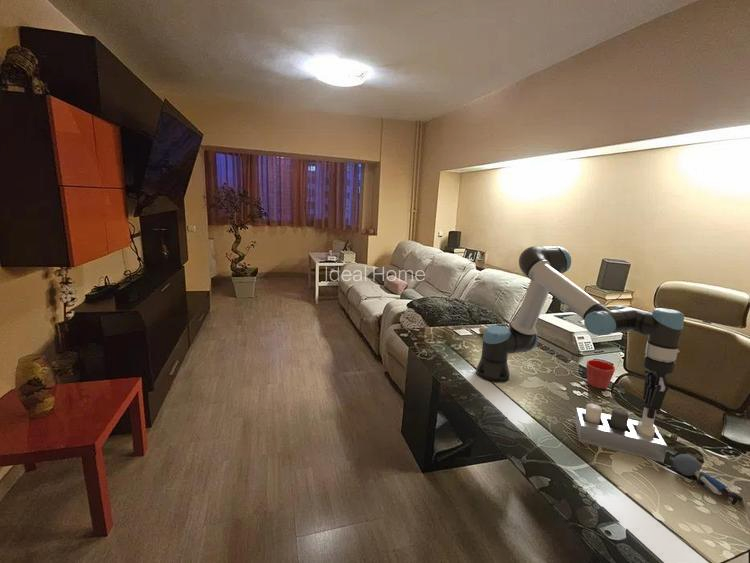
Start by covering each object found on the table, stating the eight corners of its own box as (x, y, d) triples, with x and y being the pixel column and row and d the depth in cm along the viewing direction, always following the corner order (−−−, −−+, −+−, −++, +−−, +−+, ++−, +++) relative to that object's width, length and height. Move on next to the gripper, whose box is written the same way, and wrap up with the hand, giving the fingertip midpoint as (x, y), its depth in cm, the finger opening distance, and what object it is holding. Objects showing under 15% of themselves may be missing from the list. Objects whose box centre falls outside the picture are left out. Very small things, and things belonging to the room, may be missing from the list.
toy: (736, 508, 92) (674, 464, 105) (749, 491, 91) (685, 448, 104) (726, 510, 89) (663, 464, 102) (739, 491, 88) (674, 448, 101)
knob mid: (610, 430, 113) (613, 414, 112) (607, 423, 117) (610, 407, 116) (627, 434, 111) (630, 418, 110) (623, 426, 115) (626, 411, 114)
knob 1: (585, 424, 116) (587, 408, 115) (583, 417, 120) (585, 402, 119) (600, 428, 114) (603, 412, 113) (598, 421, 118) (600, 405, 117)
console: (578, 441, 114) (581, 425, 113) (574, 422, 125) (576, 407, 124) (663, 462, 105) (667, 445, 104) (650, 440, 116) (654, 424, 115)
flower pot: (616, 391, 148) (620, 371, 147) (589, 388, 151) (592, 368, 149) (605, 380, 159) (608, 361, 157) (580, 377, 161) (583, 358, 159)
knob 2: (636, 443, 110) (639, 427, 109) (632, 435, 115) (635, 419, 113) (654, 447, 109) (657, 431, 107) (649, 439, 113) (652, 423, 112)
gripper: (684, 368, 99) (668, 439, 103) (667, 352, 110) (654, 417, 115) (652, 363, 101) (638, 432, 106) (639, 348, 113) (627, 411, 118)
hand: (647, 424), depth 110 cm, fingers closed
